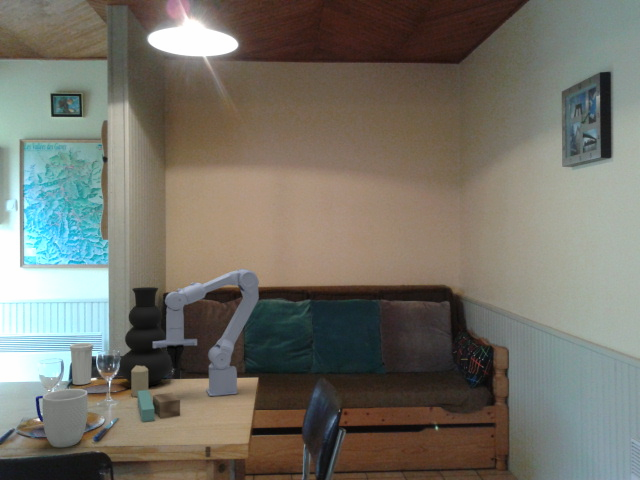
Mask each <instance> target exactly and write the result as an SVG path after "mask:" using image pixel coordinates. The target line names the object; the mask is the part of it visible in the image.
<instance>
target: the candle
mask: <svg viewBox="0 0 640 480" xmlns="http://www.w3.org/2000/svg"><path fill="white" fill-rule="evenodd" d="M130 385H131V386H130V387H131V391H130V393H131V396H132V397H134V398H135V397H136V398H138V391H143V390H149V386H148V369H147V368H146V367H145V366H137V365H136V366H135V367H134V368H133V369H132V370H131V384H130Z"/></svg>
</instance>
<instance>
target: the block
mask: <svg viewBox="0 0 640 480" xmlns="http://www.w3.org/2000/svg"><path fill="white" fill-rule="evenodd" d="M152 403H153V406H154V414H155V415H156V416H157V417H158V418H159V419H166V418H173V417H178V416H181V399H180V398H179V397H178V396H176V394H174V393H173V392H166V393H161V394H160V393H158V394H153V395H152Z"/></svg>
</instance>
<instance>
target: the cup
mask: <svg viewBox="0 0 640 480" xmlns="http://www.w3.org/2000/svg"><path fill="white" fill-rule="evenodd" d="M69 349H70V356H71V375H72V384H73V385H77V386H78V385H87V384H91V382H92V364H93V363H92V360H93V349H94V344H93V343H92V342H78V343H72V344H70V345H69Z"/></svg>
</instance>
